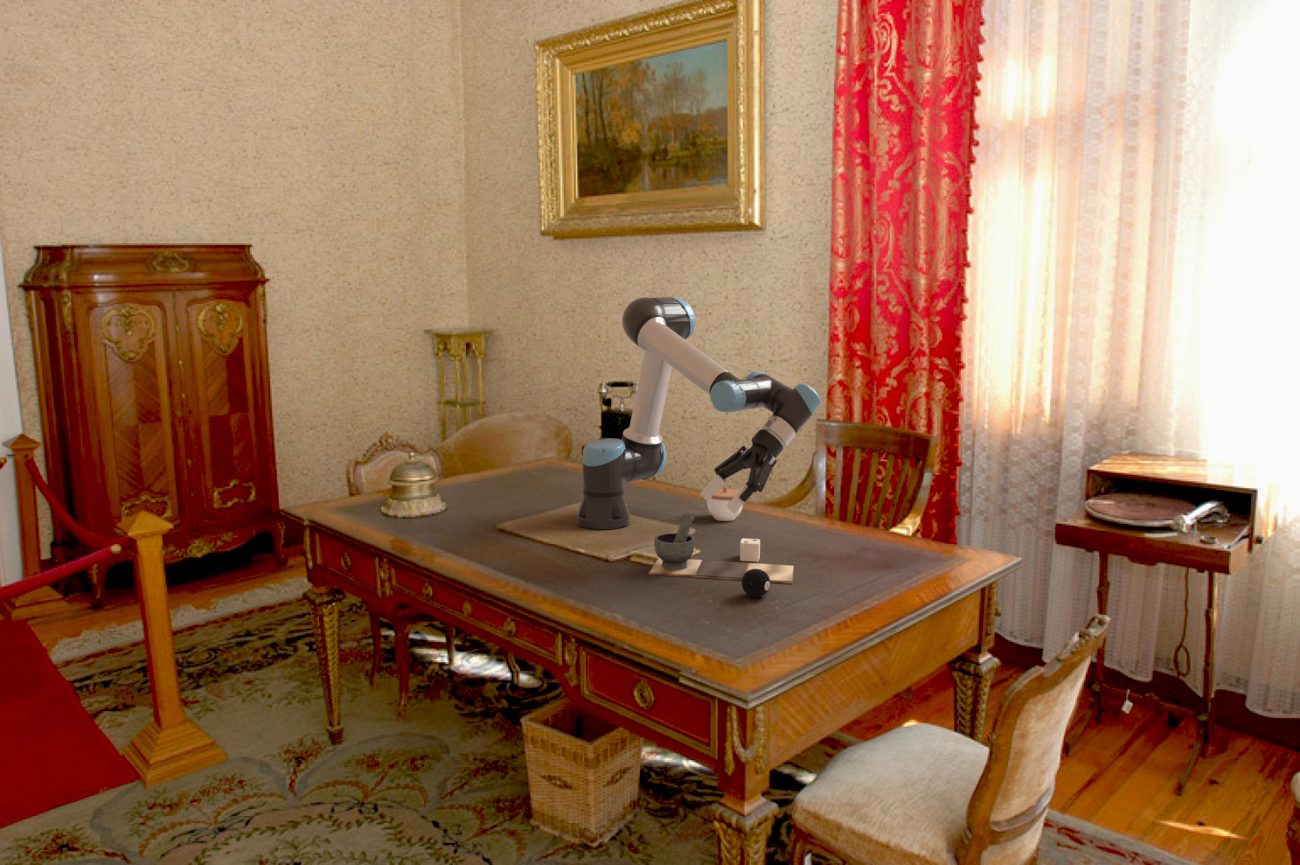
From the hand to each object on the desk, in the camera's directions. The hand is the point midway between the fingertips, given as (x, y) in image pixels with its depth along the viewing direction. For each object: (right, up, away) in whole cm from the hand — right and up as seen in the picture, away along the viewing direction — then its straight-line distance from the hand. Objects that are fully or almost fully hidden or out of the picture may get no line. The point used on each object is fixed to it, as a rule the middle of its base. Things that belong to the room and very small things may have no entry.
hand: (716, 503), depth 217 cm
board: (+1, -15, -4) cm, 16 cm away
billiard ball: (+7, -18, -22) cm, 29 cm away
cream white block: (+9, -14, +6) cm, 18 cm away
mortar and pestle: (-10, -15, -2) cm, 18 cm away
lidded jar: (+6, -8, +46) cm, 47 cm away
